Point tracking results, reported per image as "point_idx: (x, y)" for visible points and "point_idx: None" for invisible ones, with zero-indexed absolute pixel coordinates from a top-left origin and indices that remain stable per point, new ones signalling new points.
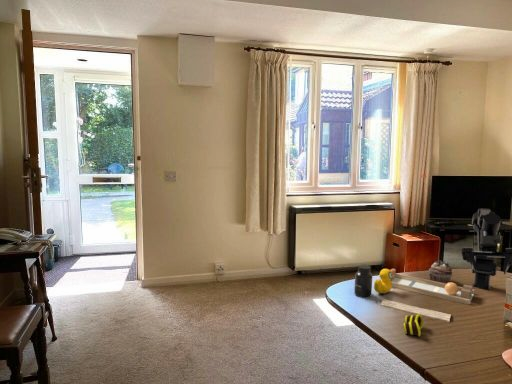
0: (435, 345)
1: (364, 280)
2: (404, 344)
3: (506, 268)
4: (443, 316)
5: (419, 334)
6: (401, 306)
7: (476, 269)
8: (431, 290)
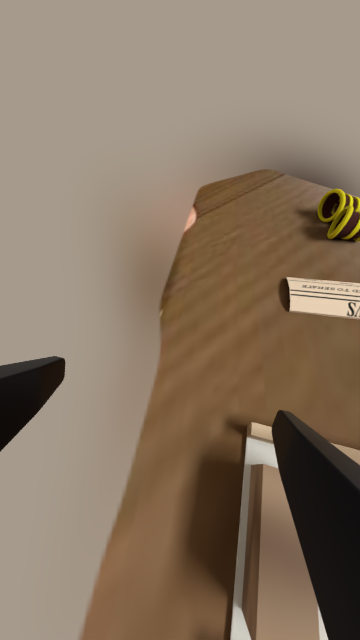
0: (287, 207)
1: None
2: None
3: (5, 368)
4: (304, 284)
5: (319, 205)
6: None
7: (285, 454)
8: None
